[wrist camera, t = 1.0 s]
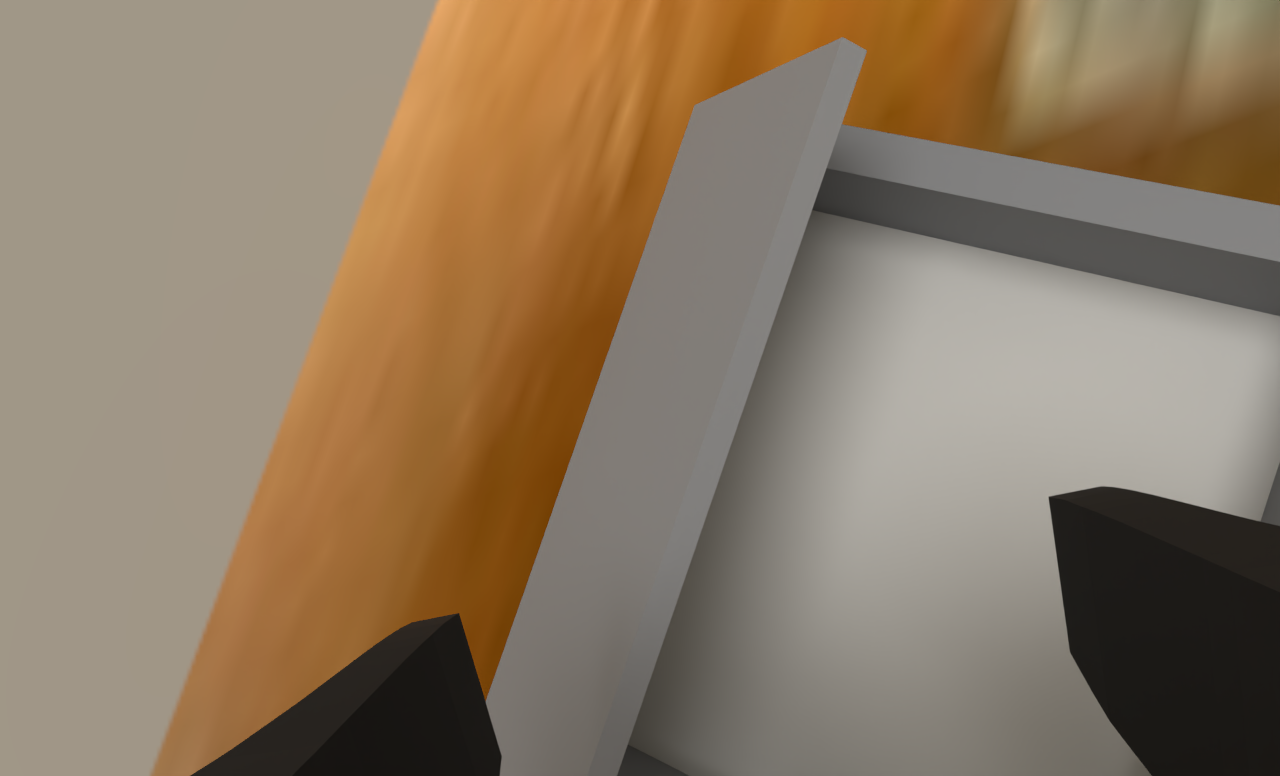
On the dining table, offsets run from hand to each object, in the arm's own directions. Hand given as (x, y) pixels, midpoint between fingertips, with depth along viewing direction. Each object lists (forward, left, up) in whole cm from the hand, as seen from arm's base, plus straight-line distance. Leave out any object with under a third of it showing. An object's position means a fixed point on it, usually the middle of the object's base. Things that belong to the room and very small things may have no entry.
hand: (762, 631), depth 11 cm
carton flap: (+4, -1, -6) cm, 7 cm away
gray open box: (0, -1, -12) cm, 12 cm away
